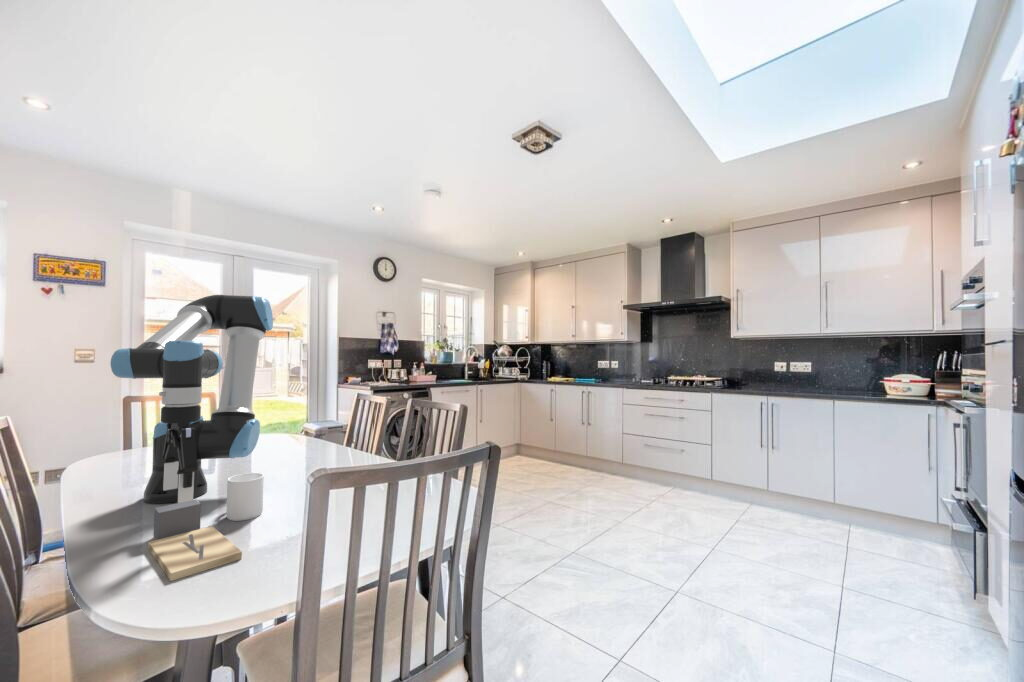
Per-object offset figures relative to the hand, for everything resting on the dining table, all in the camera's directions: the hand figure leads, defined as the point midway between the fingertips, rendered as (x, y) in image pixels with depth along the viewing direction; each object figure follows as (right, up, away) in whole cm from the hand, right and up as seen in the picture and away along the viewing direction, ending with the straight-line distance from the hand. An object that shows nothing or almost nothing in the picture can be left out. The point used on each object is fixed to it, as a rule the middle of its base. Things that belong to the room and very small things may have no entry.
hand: (177, 495), depth 102 cm
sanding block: (0, -10, 0) cm, 10 cm away
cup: (+6, -10, +14) cm, 19 cm away
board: (+10, -10, -9) cm, 17 cm away
